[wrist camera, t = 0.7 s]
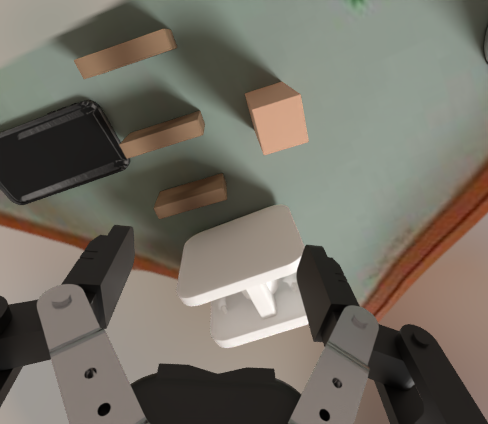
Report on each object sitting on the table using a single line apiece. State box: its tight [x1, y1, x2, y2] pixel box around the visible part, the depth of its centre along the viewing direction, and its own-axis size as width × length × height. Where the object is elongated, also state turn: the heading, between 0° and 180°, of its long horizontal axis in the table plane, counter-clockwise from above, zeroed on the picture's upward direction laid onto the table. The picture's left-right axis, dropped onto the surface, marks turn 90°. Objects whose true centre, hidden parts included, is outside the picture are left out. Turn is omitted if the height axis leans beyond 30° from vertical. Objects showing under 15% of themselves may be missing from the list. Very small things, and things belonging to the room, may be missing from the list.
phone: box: [0, 100, 130, 205], centre depth 31 cm, size 8×1×15 cm
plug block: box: [245, 82, 309, 155], centre depth 27 cm, size 4×4×8 cm
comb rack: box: [74, 29, 227, 219], centre depth 29 cm, size 8×16×4 cm, turn 15°
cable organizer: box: [176, 205, 309, 348], centre depth 35 cm, size 15×11×12 cm
